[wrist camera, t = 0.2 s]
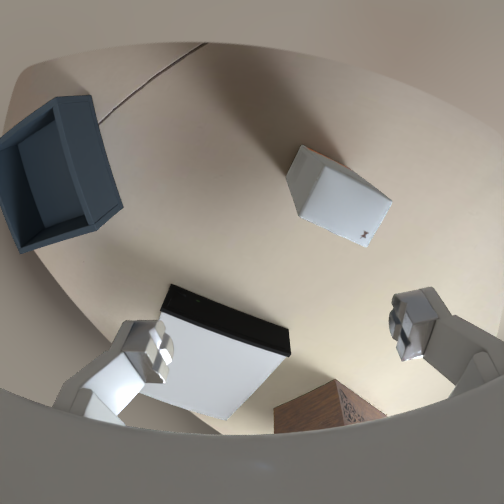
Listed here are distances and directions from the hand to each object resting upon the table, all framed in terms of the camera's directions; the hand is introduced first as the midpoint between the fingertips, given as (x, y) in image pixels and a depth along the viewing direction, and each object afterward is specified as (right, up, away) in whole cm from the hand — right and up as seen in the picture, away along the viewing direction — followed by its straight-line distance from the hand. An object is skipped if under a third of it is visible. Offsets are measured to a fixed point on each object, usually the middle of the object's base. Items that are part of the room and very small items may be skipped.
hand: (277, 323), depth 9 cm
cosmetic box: (+6, +11, +20) cm, 24 cm away
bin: (-25, +13, +20) cm, 34 cm away
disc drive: (-8, -14, +34) cm, 38 cm away
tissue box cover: (+18, -33, +43) cm, 57 cm away
